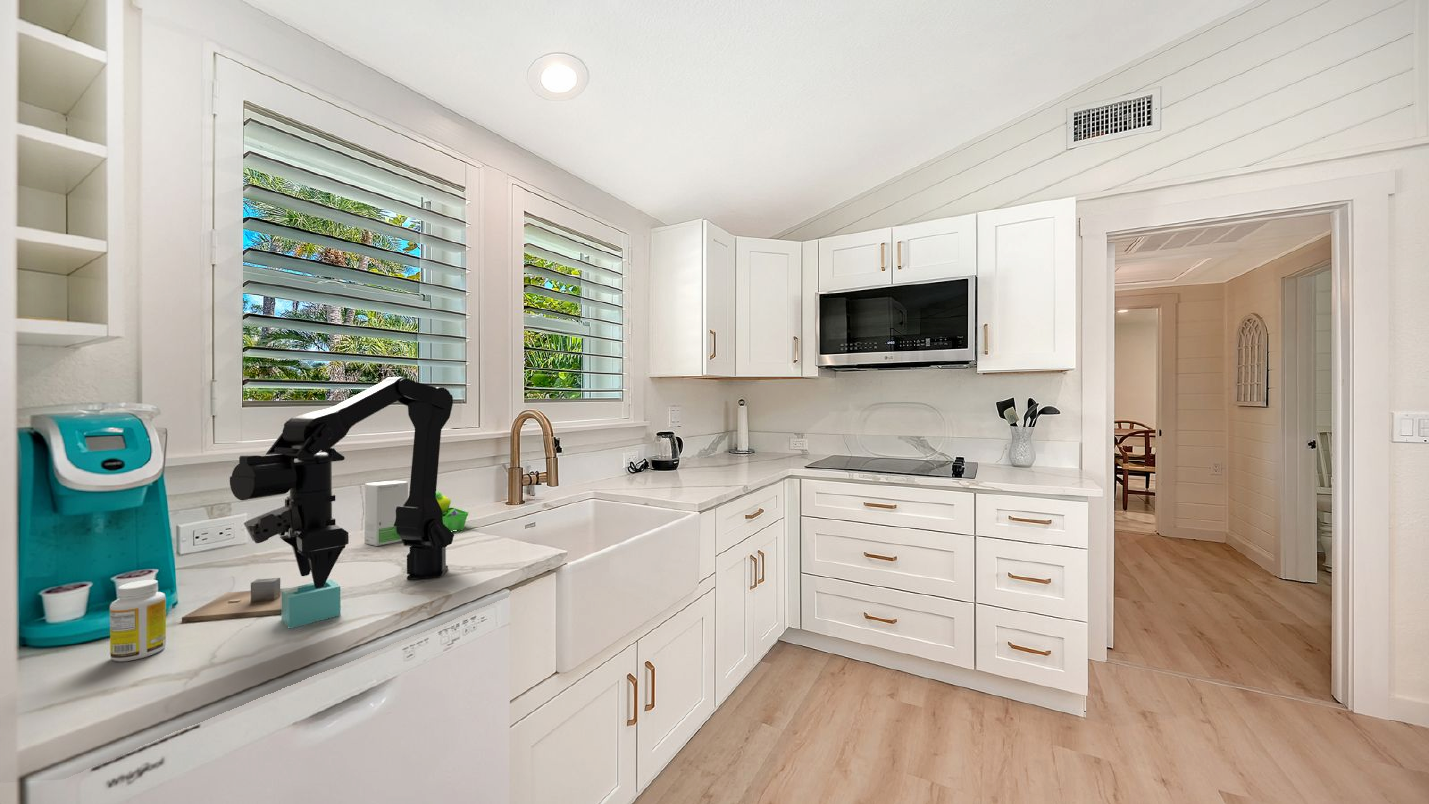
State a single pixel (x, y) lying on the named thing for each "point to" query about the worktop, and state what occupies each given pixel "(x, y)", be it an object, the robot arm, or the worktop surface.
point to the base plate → (235, 607)
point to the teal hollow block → (310, 603)
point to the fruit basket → (451, 514)
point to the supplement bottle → (137, 621)
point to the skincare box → (383, 511)
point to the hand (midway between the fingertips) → (311, 581)
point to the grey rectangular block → (265, 590)
